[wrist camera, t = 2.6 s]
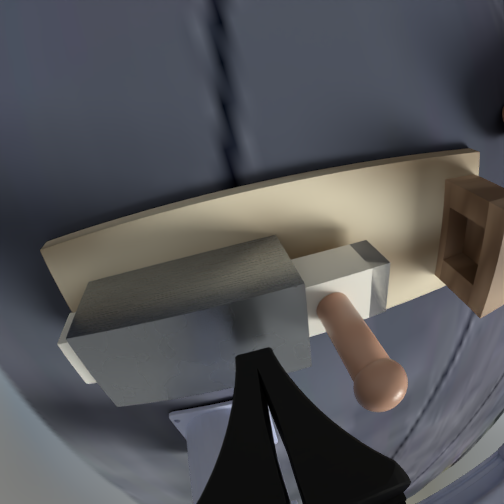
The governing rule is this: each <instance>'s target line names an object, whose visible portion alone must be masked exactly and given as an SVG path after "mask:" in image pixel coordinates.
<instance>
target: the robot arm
mask: <svg viewBox="0 0 504 504" xmlns="http://www.w3.org/2000/svg"><path fill="white" fill-rule="evenodd" d="M235 364H236V373H235V386H234V394H233V400H231V401H227V402H222V403H217V404H212V405H207V406H202V407H197V408H191V409H185V410H179V411H173V412H170V413H169V419H170V420H171V421H172V423H173V424H174V425H175V426H176V428H177V429H178V430H179V431H180V433H181V434H182V435H183V436H184V438H185V439H186V440H187V450H188V461H189V471H190V481H191V490H192V498H193V504H298V502H297V500H295V501H290V499H289V496H288V492H287V489H286V485H285V482H284V479H283V475H282V472H281V468H280V465H279V461H278V458H277V454H276V449H275V444H276V443H277V442H278V440H277V436H276V433H275V429H274V426H273V422H272V419H271V415H270V412H271V414H272V417H273V419H274V422H275V424H276V427H277V429H278V431H279V434H280V436H281V439H282V441H283V444H284V446H285V449H286V451H287V454H288V457H289V460H290V463H291V467H292V470H293V473H294V477H295V480H296V483H297V486H298V490H299V493H300V496H301V499H302V502H303V504H406V502H405V501H406V497H405V495H404V491H405V490H406V489H407V488H408V487H409V485H410V483H411V481H410V479H409V477H408V475H407V474H406V472H405V471H404V470H403V469H402V468H401V467H400V465H399V464H398V463H397V462H396V461H394V460H392V459H390V458H388V457H386V456H384V455H383V454H381V453H379V452H377V451H375V450H373V449H372V448H370V447H368V446H367V445H365V444H364V443H362V442H360V441H359V440H357V439H356V438H355V437H353V436H352V435H350V434H349V433H347V432H346V431H345V430H343V429H342V428H341V427H339V426H338V425H337V424H336V423H334V422H333V421H332V420H331V419H330V418H328V417H327V416H326V415H325V414H324V413H323V412H322V411H320V410H319V409H318V408H317V407H316V406H315V405H314V404H313V403H312V402H311V401H310V400H309V399H308V398H307V397H306V396H305V394H304V393H303V392H302V391H301V390H300V389H299V388H298V386H297V385H296V384H295V383H294V382H293V380H292V379H291V378H290V377H289V375H288V374H287V373H286V371H285V370H284V368H283V367H282V366H281V364H280V363H279V361H278V359H277V358H276V356H275V354H274V352H273V350H272V348H270V347H267V348H263V349H259V350H256V351H252V352H248V353H244V354H240V355H237V356H236V357H235ZM268 406H269V408H268ZM269 409H270V411H269ZM416 504H504V444H503V445H502V446H501V447H500V448H499V449H498V450H497V451H496V452H495V453H493V454H492V455H491V456H490V457H488V458H487V459H486V460H484V461H483V462H482V463H480V464H479V465H478V466H476V467H475V468H473V469H472V470H470V471H469V472H468V473H466V474H465V475H463V476H462V477H460V478H459V479H457V480H456V481H454V482H452V483H451V484H450V485H448V486H446V487H444V488H443V489H441V490H439V491H438V492H436V493H434V494H433V495H431V496H429V497H427V498H426V499H424V500H422V501H420V502H419V503H416Z"/></svg>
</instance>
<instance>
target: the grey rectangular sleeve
mask: <svg viewBox="0 0 504 504" xmlns="http://www.w3.org/2000/svg"><path fill="white" fill-rule="evenodd" d="M66 340H67V342H68V343H69V345H70V346H71V348H72V349H73V351H74V352H75V353H76V355H77V356H78V358H79V359H80V360H81V362H82V363H83V365H84V366H85V367H86V369H87V370H88V371H89V373H90V374H91V375H92V377H93V378H94V379H95V380H96V382H97V383H98V384H99V386H100V387H101V388H102V389H103V391H104V392H105V393H106V394H107V395H108V397H109V398H110V399H111V400H112V401H113V403H114V404H115V405H116V406H117V407H121V406H130V405H138V404H145V403H152V402H159V401H166V400H172V399H178V398H183V397H189V396H194V395H199V394H204V393H209V392H214V391H219V390H224V389H228V388H232V387H234V386H235V373H236V364H235V357H236V356H237V355H240V354H244V353H248V352H252V351H256V350H259V349H263V348H267V347H270V348H272V350H273V352H274V354H275V356H276V358H277V359H278V361H279V363H280V364H281V366H282V367H283V368H284V370H285V371H286V373H291V372H294V371H297V370H301V369H304V368H307V367H311V366H312V365H311V351H310V337H309V325H308V313H307V302H306V291H305V283H304V281H303V280H302V278H301V276H300V275H299V273H298V271H297V270H296V268H295V266H294V264H293V263H292V261H291V259H290V258H289V256H288V254H287V253H286V251H285V249H284V248H283V246H282V244H281V243H280V241H279V239H278V238H277V236H276V235H272V236H268V237H264V238H260V239H255V240H251V241H247V242H243V243H239V244H235V245H231V246H227V247H223V248H219V249H215V250H211V251H207V252H203V253H199V254H195V255H191V256H187V257H183V258H179V259H175V260H171V261H167V262H164V263H160V264H156V265H152V266H148V267H144V268H140V269H136V270H132V271H128V272H125V273H121V274H117V275H113V276H109V277H105V278H101V279H98V280H94V281H90V282H88V284H87V287H86V289H85V291H84V294H83V296H82V298H81V301H80V303H79V306H78V308H77V311H76V313H75V316H74V318H73V321H72V323H71V326H70V328H69V331H68V334H67V337H66Z"/></svg>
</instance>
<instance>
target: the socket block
mask: <svg viewBox="0 0 504 504" xmlns="http://www.w3.org/2000/svg"><path fill="white" fill-rule="evenodd" d="M435 276H436V277H438V278H439V279H440V280H441V281H442V282H443V283H444V284H445V285H446V286H447V287H448V288H449V289H451V290H452V291H453V292H454V293H455V294H456V295H457V296H458V297H459V298H460V299H461V300H462V301H463V302H464V303H465V304H466V305H467V306H468V307H469V308H470V309H471V310H472V311H473V312H474V313H475V314H476V315H477V316H478V317H479V318H482V317H484V316H485V315H487V314H489V313H490V312H492V311H494V310H495V309H497V308H499V307H500V306H502V305H503V304H504V188H503V187H501V186H499V185H497V184H494V183H492V182H490V181H488V180H486V179H484V178H482V177H479V176H477V175H475V174H473V175H467V176H462V177H456V178H451V179H445V192H444V206H443V217H442V227H441V235H440V243H439V250H438V257H437V264H436V270H435Z"/></svg>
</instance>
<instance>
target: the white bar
mask: <svg viewBox="0 0 504 504" xmlns="http://www.w3.org/2000/svg"><path fill="white" fill-rule="evenodd" d="M291 261H292V263H293V264H294V266H295V268H296V270H297V271H298V273H299V275H300V276H301V278H302V280H303V281H304V283H305V291H306V302H307V313H308V325H309V337H311V336H314V335H318V334H321V333H324V332H327V334H328V335H329V337H330V339H331V341H332V343H333V345H334V346H335V348H336V350H337V352H338V354H339V356H340V357H341V359H342V361H343V363H344V365H345V367H346V369H347V371H348V372H349V374H350V376H351V378H352V380H353V382H354V394H355V397H356V399H357V401H358V403H359V404H360V405H361V406H362V407H364V408H365V409H367V410H369V411H373V412H384V411H387V410H390V409H392V408H394V407H395V406H396V405H398V404H399V403H400V402H401V400H402V399H403V397H404V396H405V393H406V390H407V385H408V380H407V375H406V372H405V370H404V369H403V367H402V366H401V365H400V364H399V363H397V362H396V361H394V360H392V359H390V358H389V356H388V355H387V353H386V352H385V350H384V349H383V347H382V346H381V344H380V343H379V342H378V340H377V339H376V337H375V336H374V334H373V333H372V331H371V330H370V328H369V327H368V326H367V324H366V323H365V321H364V320H363V319H366V318H369V317H372V316H375V315H377V314H380V313H383V312H386V304H387V295H388V285H389V274H390V262H389V261H388V260H387V259H386V258H385V257H384V256H383V255H382V254H381V253H380V252H379V251H378V250H377V249H376V248H374V247H373V246H372V245H371V244H370V243H369V242H368V241H367V240H364V241H360V242H356V243H353V244H349V245H345V246H341V247H338V248H334V249H330V250H326V251H322V252H319V253H315V254H311V255H307V256H303V257H300V258H296V259H292V260H291ZM75 313H76V312H74V313H70V314H69V316H68V318H67V321H66V323H65V326H64V328H63V331H62V333H61V336H60V338H59V341H58V344H57V345H58V346H59V348H60V349H61V350H62V352H63V353H64V355H65V356H66V357H67V359H68V360H69V361H70V363H71V364H72V365H73V367H74V368H75V369H76V371H77V372H78V373H79V375H80V376H81V377H82V378H83V380H84V381H85V382H86V383H87V384H90V383H97V382H96V380H95V379H94V378H93V377H92V375H91V374H90V373H89V371H88V370H87V369H86V367H85V366H84V365H83V363H82V362H81V360H80V359H79V358H78V356H77V355H76V353H75V352H74V351H73V349H72V348H71V346H70V345H69V343H68V342H67V340H66V337H67V334H68V331H69V328H70V326H71V323H72V321H73V318H74V316H75Z"/></svg>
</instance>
